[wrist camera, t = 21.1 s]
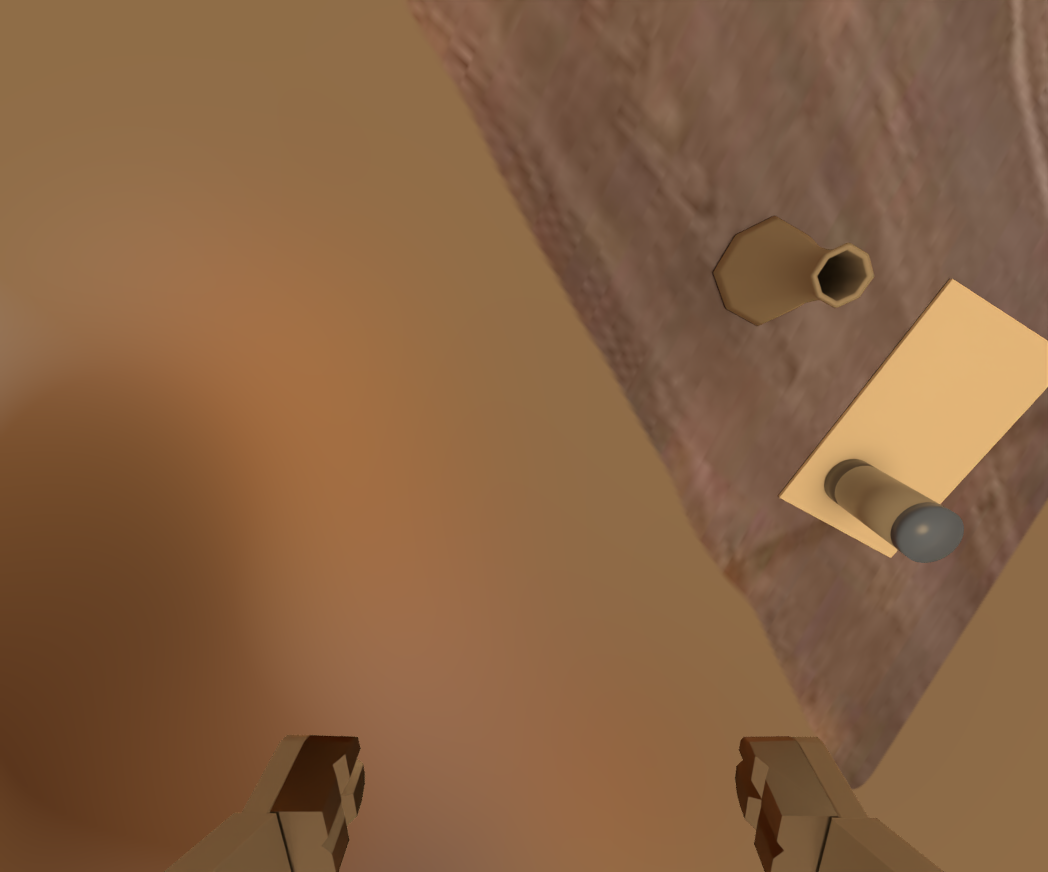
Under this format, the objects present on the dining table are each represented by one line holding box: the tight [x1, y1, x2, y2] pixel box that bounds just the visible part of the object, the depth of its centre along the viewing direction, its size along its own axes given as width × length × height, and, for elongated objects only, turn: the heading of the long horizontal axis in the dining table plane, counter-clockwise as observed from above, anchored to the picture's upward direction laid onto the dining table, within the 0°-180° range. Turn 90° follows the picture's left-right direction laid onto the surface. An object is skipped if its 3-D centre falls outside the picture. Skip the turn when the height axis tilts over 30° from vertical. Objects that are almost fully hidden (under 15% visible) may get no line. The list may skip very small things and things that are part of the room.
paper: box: [778, 279, 1048, 558], centre depth 40 cm, size 20×12×1 cm, turn 152°
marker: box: [824, 459, 964, 563], centre depth 37 cm, size 4×4×9 cm
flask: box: [713, 216, 874, 326], centre depth 32 cm, size 7×7×10 cm
